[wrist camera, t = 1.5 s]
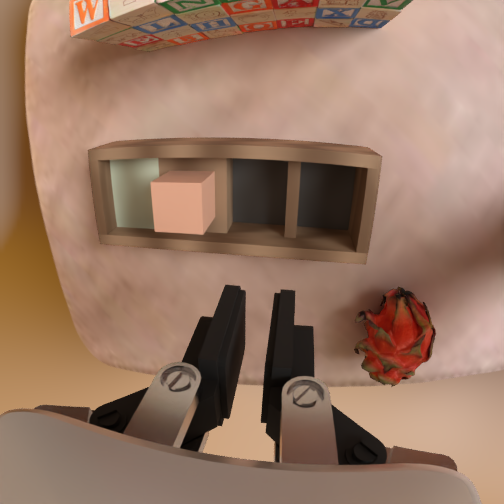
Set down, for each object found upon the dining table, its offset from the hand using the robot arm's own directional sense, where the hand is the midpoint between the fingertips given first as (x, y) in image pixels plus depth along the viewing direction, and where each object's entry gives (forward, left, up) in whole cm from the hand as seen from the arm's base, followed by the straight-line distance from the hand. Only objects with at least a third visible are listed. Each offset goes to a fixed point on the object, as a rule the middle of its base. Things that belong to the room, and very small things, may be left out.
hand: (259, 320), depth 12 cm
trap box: (+5, 0, -19) cm, 20 cm away
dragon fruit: (-13, +14, -19) cm, 27 cm away
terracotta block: (+8, 0, -16) cm, 18 cm away
